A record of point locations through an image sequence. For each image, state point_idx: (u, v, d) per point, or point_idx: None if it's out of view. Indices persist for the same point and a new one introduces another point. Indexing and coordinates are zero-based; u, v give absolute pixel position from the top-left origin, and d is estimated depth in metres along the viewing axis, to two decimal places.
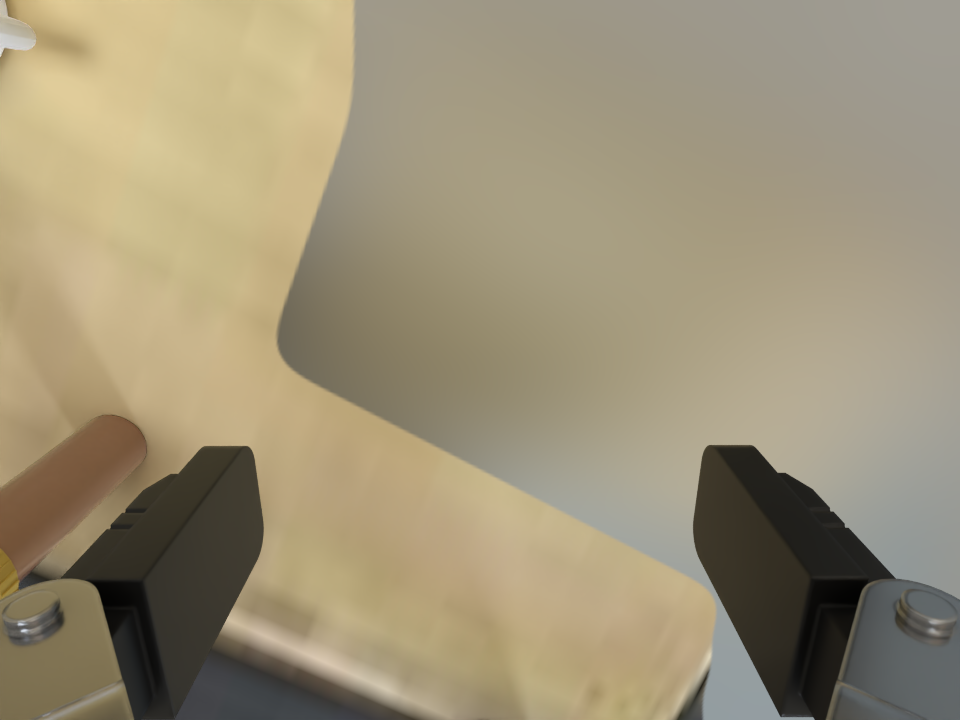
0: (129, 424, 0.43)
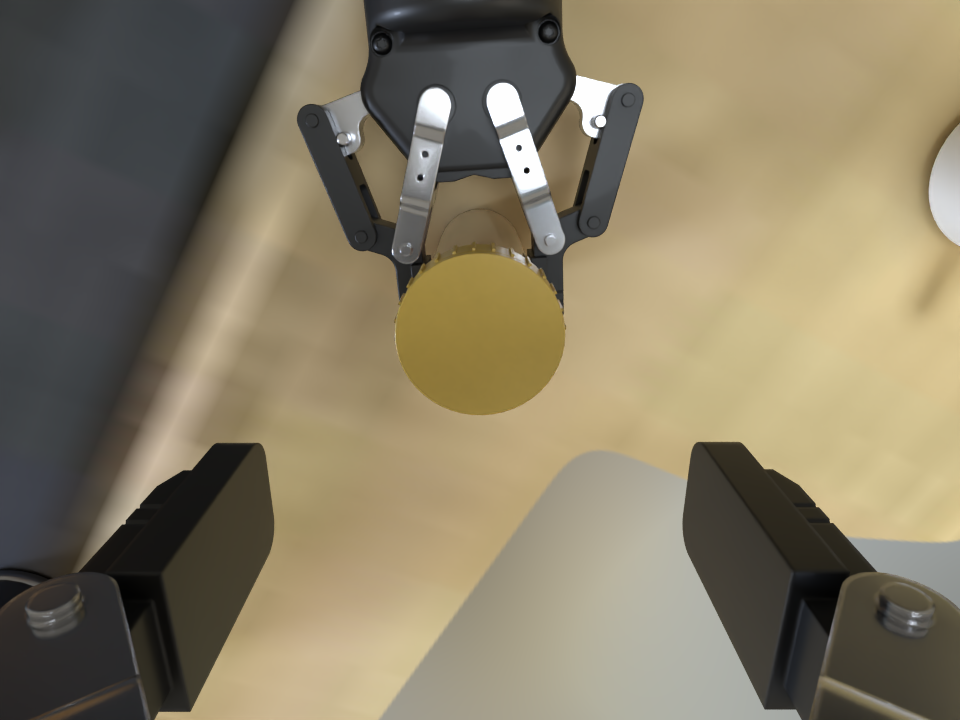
0: None
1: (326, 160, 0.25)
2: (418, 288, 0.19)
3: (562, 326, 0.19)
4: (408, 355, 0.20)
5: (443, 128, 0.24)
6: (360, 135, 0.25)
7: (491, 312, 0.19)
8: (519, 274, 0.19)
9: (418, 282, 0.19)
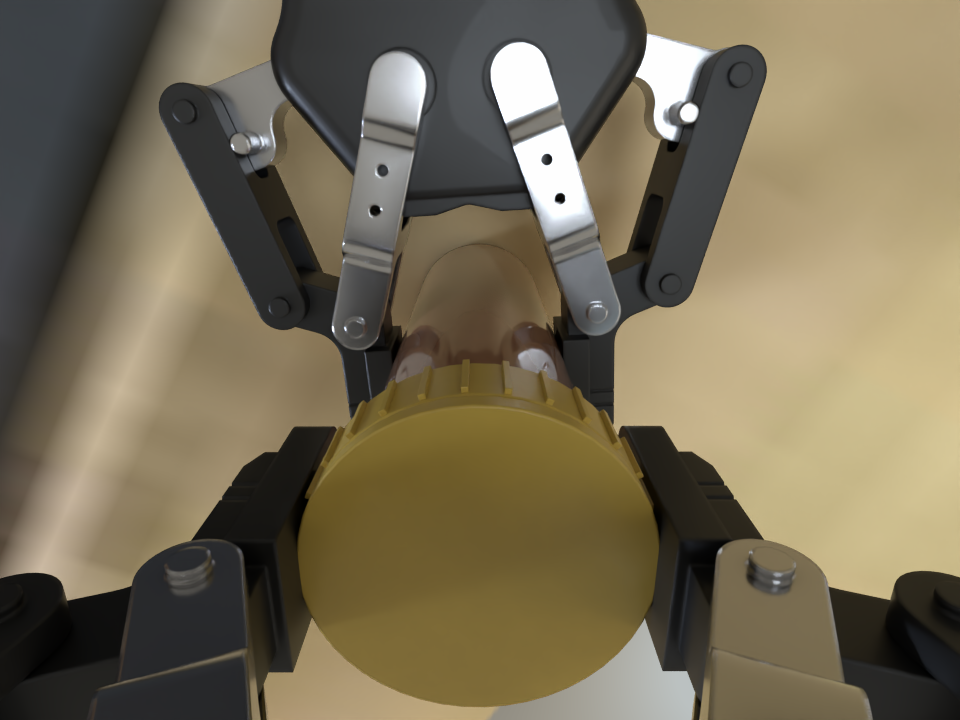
0: None
1: (214, 180, 0.14)
2: (342, 477, 0.09)
3: (656, 549, 0.09)
4: (327, 603, 0.09)
5: (413, 125, 0.13)
6: (275, 137, 0.15)
7: (503, 524, 0.09)
8: (566, 448, 0.08)
9: (341, 465, 0.09)
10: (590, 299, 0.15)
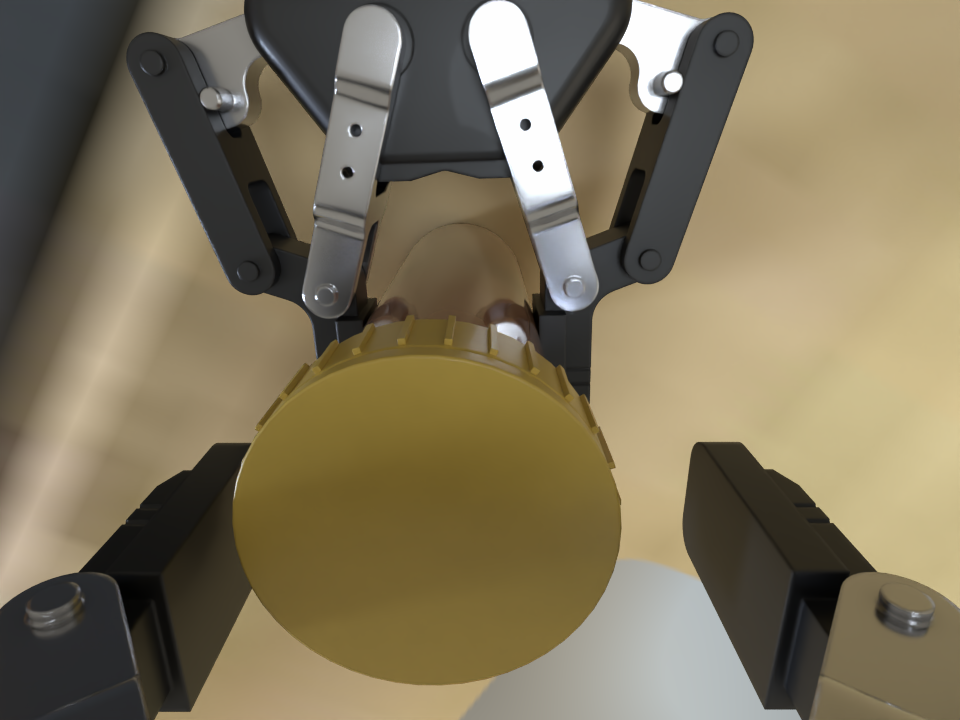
0: None
1: (182, 136, 0.14)
2: (258, 571, 0.09)
3: (519, 383, 0.08)
4: (372, 660, 0.09)
5: (388, 83, 0.13)
6: (248, 95, 0.14)
7: (390, 489, 0.08)
8: (349, 393, 0.08)
9: (246, 565, 0.09)
10: (568, 273, 0.15)
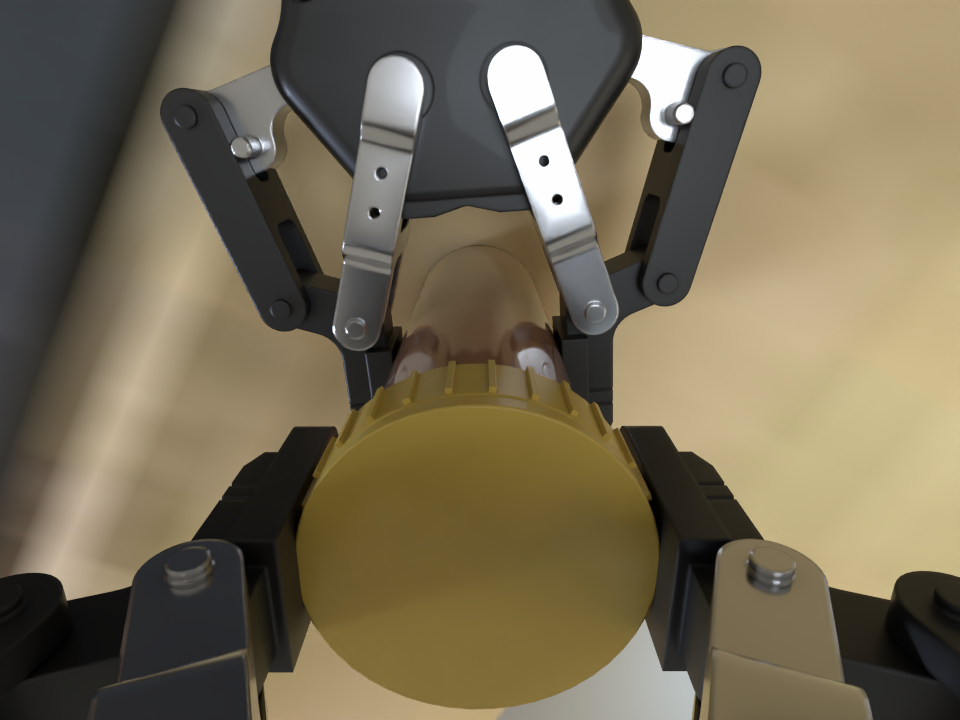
0: None
1: (215, 184, 0.15)
2: (319, 609, 0.09)
3: (562, 427, 0.08)
4: (427, 687, 0.10)
5: (411, 128, 0.13)
6: (275, 141, 0.15)
7: (442, 529, 0.09)
8: (403, 442, 0.08)
9: (308, 603, 0.09)
10: (588, 299, 0.15)
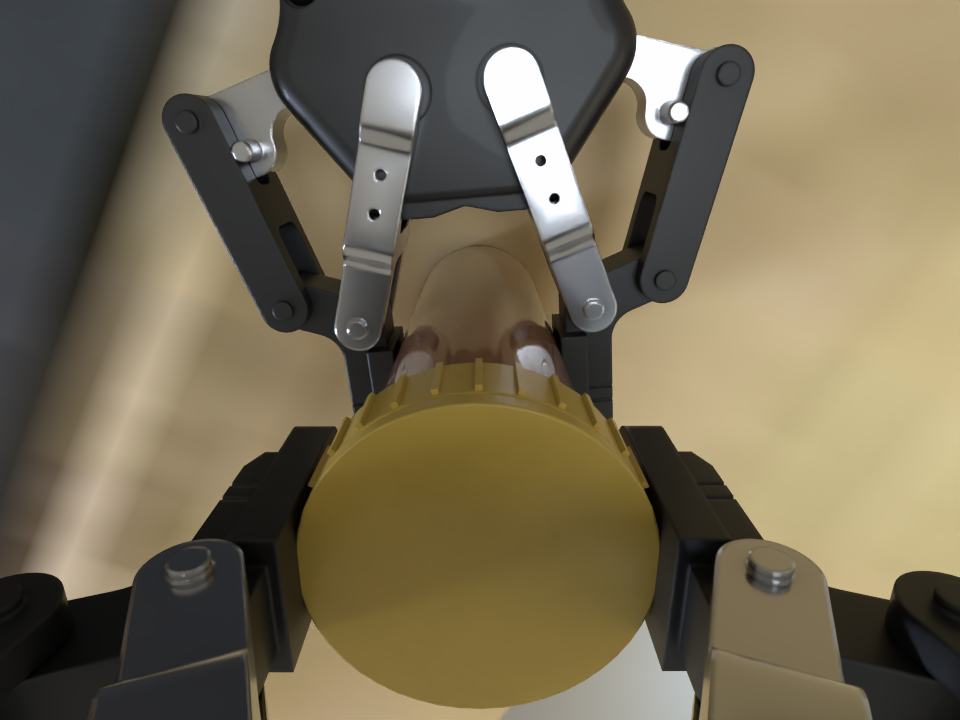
0: None
1: (217, 188, 0.15)
2: (428, 693, 0.10)
3: (381, 431, 0.08)
4: (566, 671, 0.10)
5: (409, 130, 0.14)
6: (276, 144, 0.15)
7: (415, 570, 0.09)
8: (317, 550, 0.09)
9: (417, 697, 0.10)
10: (586, 296, 0.16)
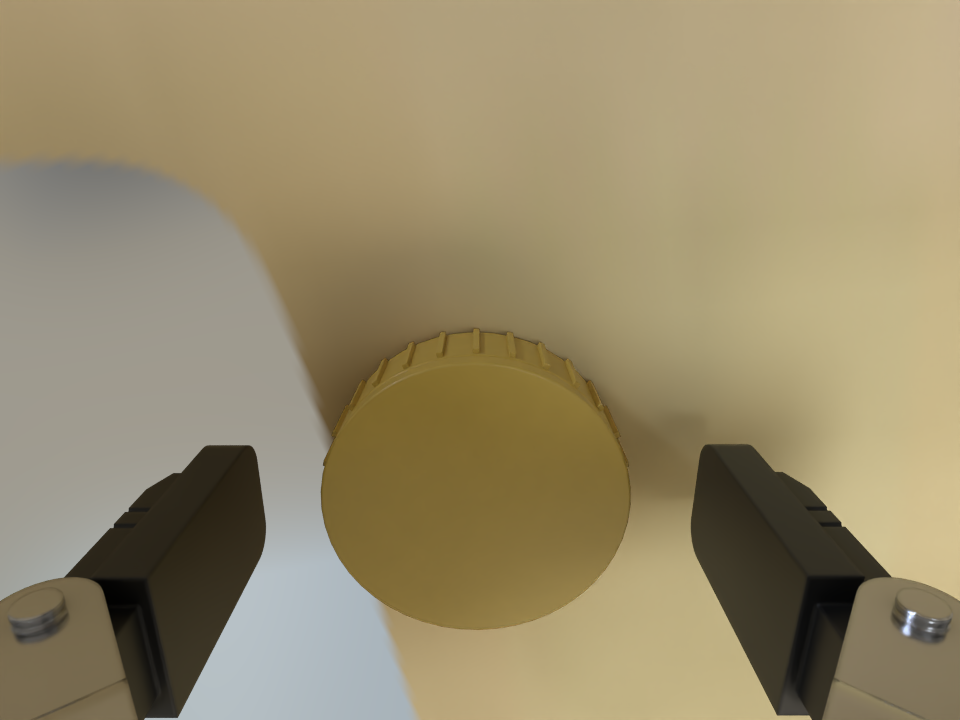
0: None
1: None
2: (433, 616, 0.12)
3: (394, 386, 0.10)
4: (551, 596, 0.11)
5: None
6: None
7: (423, 507, 0.11)
8: (339, 489, 0.11)
9: (423, 619, 0.12)
10: None
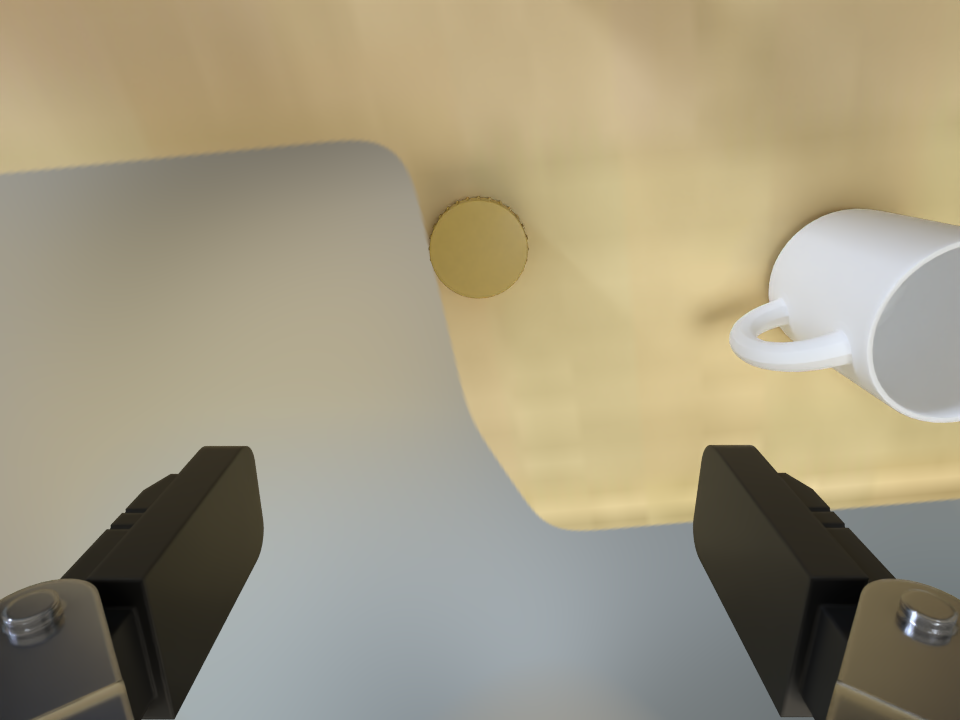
0: None
1: None
2: (464, 292, 0.35)
3: (454, 208, 0.33)
4: (503, 284, 0.35)
5: None
6: None
7: (461, 250, 0.34)
8: (435, 243, 0.34)
9: (461, 293, 0.35)
10: None
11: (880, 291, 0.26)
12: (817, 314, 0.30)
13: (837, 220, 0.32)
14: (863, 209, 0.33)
